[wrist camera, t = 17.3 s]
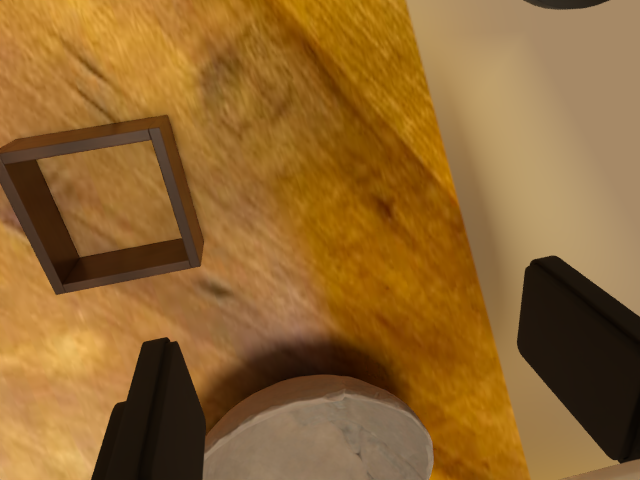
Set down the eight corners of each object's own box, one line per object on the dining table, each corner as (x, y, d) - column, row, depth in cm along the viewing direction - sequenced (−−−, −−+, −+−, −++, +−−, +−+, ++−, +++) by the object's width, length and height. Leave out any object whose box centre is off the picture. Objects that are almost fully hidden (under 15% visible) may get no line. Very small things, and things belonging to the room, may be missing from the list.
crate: (167, 114, 35) (159, 127, 31) (204, 242, 40) (200, 266, 36) (15, 139, 34) (-14, 155, 30) (73, 267, 39) (55, 295, 35)
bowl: (442, 353, 52) (485, 421, 43) (351, 497, 61) (371, 577, 53) (226, 304, 44) (225, 376, 35) (160, 479, 53) (145, 571, 44)
